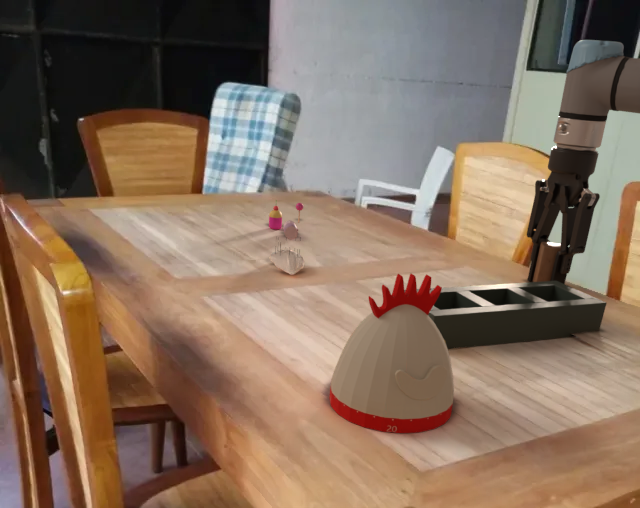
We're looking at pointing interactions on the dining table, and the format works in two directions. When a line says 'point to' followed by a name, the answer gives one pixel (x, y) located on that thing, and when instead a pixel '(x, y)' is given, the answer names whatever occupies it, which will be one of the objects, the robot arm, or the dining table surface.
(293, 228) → the toys
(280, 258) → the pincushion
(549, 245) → the wooden block
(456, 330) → the socket bar
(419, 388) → the kitchen timer
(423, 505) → the dining table surface
